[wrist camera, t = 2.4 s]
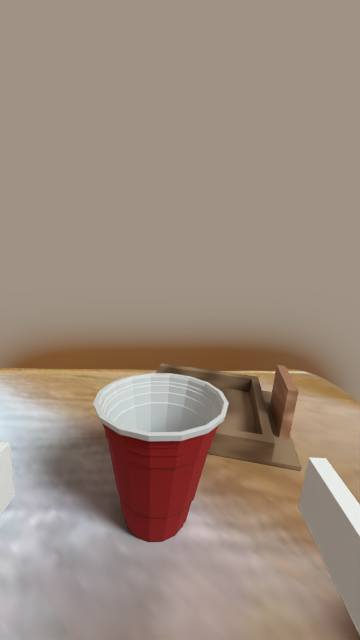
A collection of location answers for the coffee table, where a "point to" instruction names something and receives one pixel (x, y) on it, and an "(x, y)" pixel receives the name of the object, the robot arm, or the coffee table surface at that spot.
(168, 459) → the plastic cup
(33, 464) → the coffee table surface
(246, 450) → the cup dock
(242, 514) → the coffee table surface
